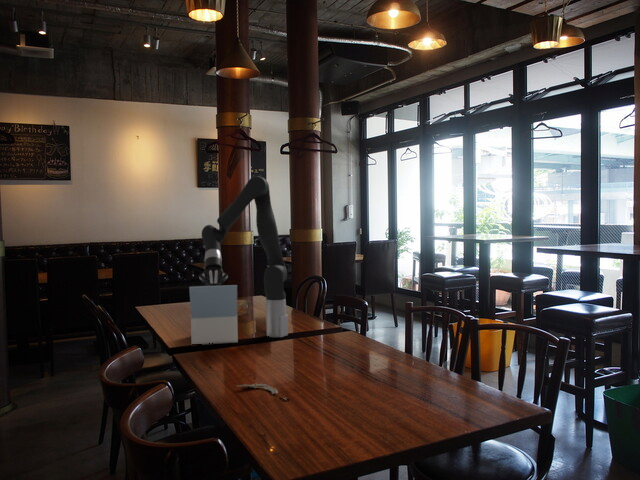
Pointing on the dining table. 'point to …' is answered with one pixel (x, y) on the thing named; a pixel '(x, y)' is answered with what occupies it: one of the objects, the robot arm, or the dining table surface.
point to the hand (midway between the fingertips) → (213, 292)
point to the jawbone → (262, 387)
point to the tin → (242, 307)
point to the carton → (214, 330)
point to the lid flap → (213, 301)
